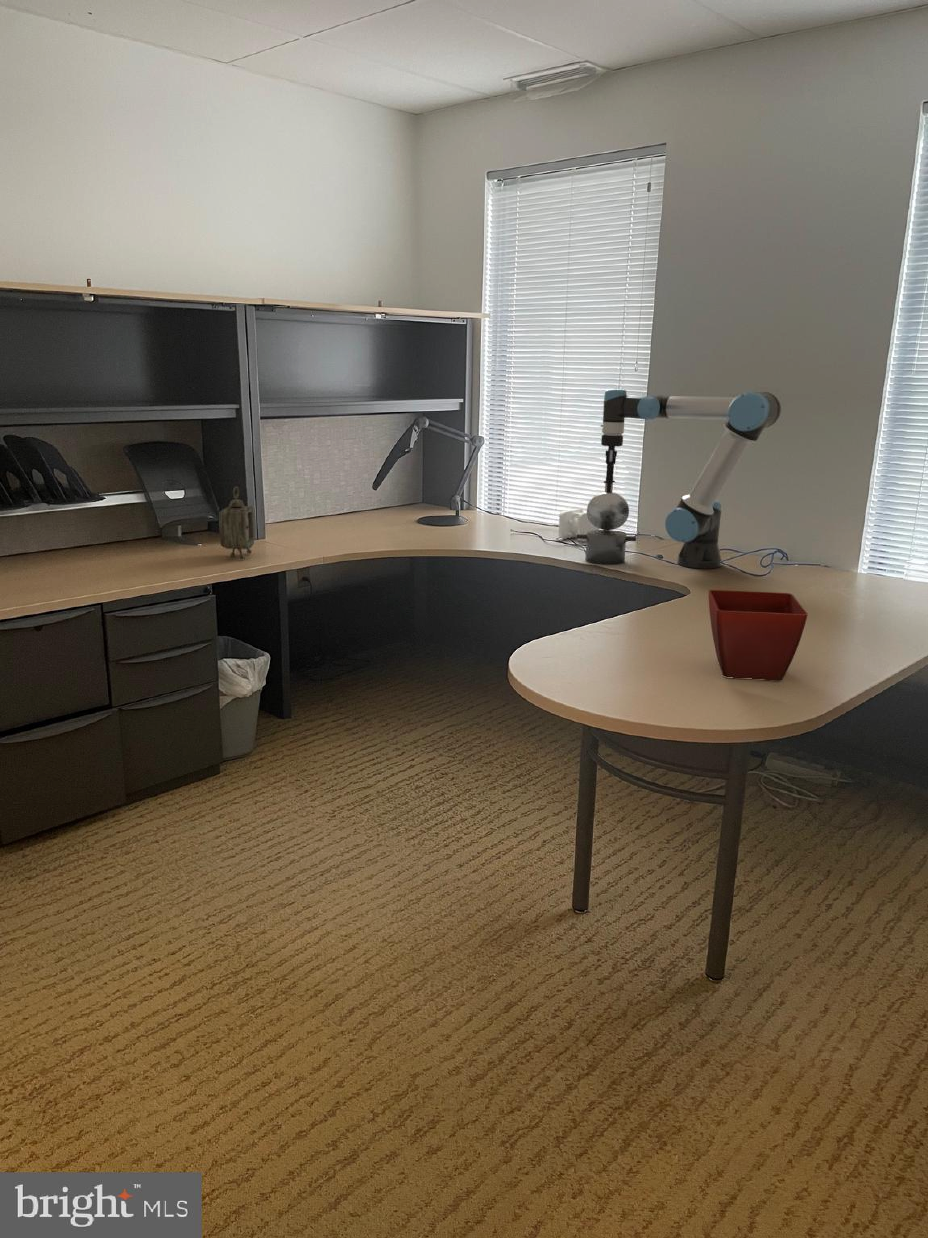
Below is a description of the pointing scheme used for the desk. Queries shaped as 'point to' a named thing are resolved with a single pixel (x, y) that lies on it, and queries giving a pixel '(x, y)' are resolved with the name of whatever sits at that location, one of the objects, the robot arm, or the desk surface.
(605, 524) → the lid
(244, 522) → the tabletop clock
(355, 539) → the desk surface
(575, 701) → the desk surface
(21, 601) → the desk surface
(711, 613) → the plant pot
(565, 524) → the cable organizer
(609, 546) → the pot
